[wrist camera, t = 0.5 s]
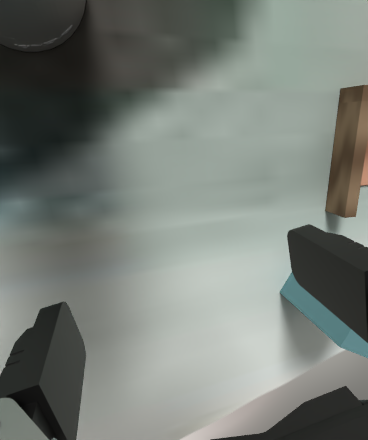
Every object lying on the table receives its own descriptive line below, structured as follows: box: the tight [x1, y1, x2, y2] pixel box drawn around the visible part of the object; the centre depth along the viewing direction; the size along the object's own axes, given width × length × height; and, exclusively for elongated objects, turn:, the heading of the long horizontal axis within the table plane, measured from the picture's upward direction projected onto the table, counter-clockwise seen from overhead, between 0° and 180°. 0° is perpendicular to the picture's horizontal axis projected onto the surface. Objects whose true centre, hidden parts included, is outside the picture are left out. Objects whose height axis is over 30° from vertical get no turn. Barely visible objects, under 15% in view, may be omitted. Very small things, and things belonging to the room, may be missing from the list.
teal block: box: [280, 272, 368, 358], centre depth 33 cm, size 5×5×10 cm
